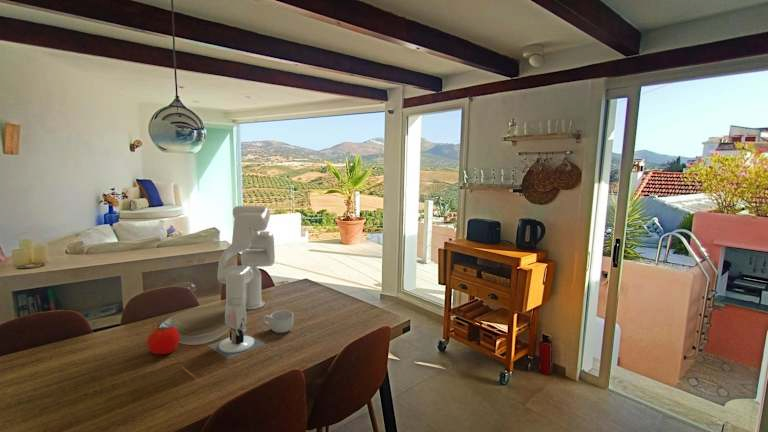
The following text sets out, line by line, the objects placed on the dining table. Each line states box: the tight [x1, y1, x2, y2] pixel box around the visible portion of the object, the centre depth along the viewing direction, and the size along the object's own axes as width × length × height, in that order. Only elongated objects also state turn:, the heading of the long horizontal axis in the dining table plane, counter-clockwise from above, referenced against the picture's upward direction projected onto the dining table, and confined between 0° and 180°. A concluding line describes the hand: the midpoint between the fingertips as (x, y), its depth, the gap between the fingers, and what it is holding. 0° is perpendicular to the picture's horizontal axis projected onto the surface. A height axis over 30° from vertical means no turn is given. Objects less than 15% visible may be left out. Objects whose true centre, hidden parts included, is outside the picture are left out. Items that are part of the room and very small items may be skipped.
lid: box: [219, 328, 254, 353], centre depth 155 cm, size 14×14×8 cm
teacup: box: [262, 309, 295, 334], centre depth 172 cm, size 14×11×8 cm
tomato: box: [146, 325, 180, 355], centre depth 149 cm, size 12×12×10 cm
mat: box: [207, 332, 266, 360], centre depth 156 cm, size 17×17×1 cm
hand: (236, 340), depth 156 cm, fingers closed on lid, 4 cm apart
